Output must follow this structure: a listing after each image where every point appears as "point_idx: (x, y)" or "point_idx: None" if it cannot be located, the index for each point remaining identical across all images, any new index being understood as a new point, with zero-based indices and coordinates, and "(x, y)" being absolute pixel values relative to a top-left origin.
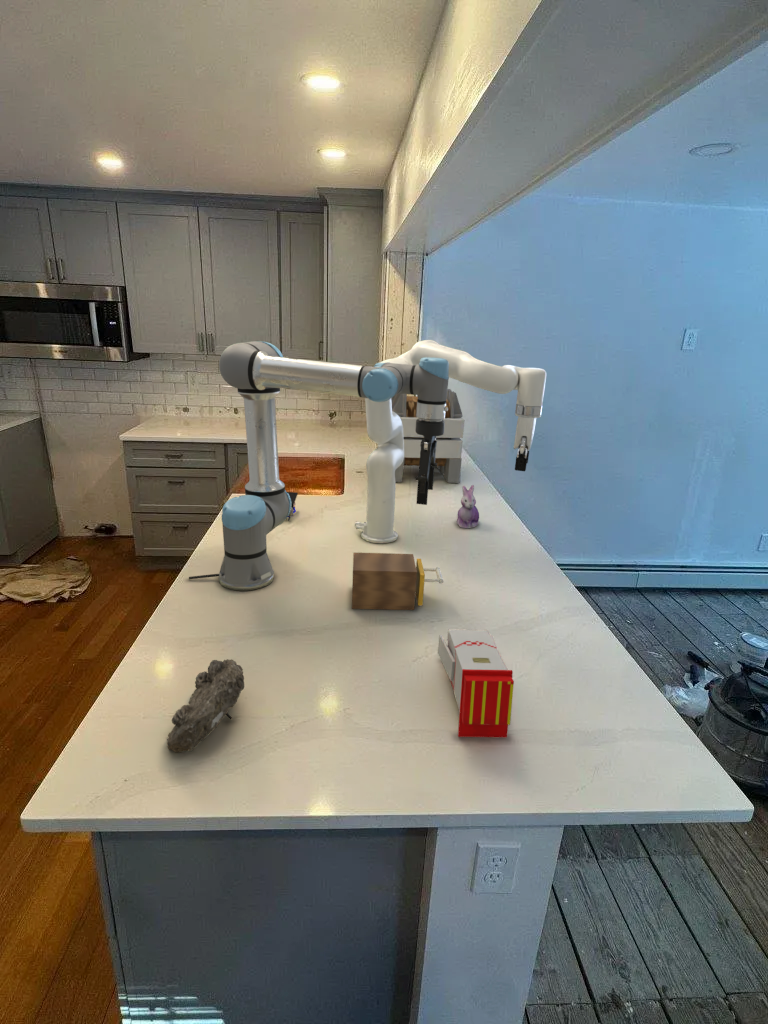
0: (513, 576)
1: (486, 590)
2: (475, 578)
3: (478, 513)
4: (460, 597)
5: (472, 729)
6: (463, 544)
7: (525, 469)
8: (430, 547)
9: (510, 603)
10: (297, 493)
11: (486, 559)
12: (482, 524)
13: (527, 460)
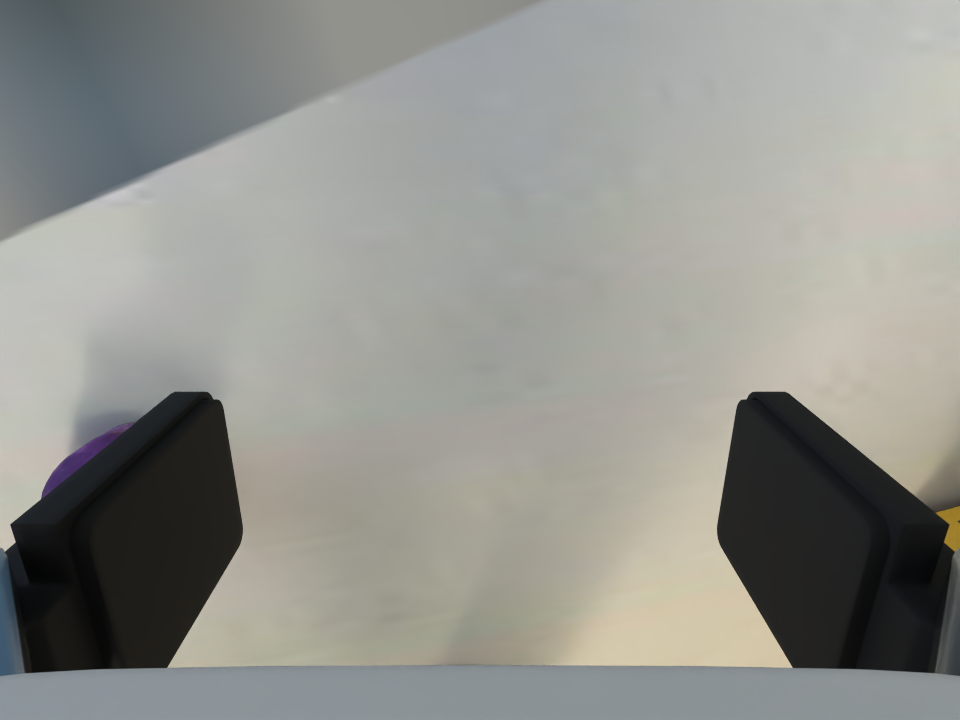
0: (681, 192)
1: (847, 290)
2: (744, 347)
3: (98, 452)
4: (924, 375)
5: None
6: (406, 442)
7: (791, 402)
8: (496, 550)
9: (952, 182)
10: None
11: (534, 329)
12: (108, 400)
13: (195, 419)
